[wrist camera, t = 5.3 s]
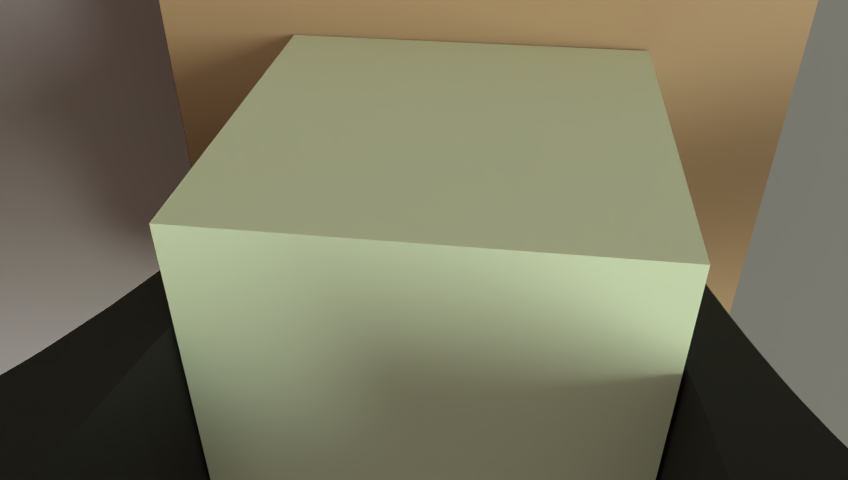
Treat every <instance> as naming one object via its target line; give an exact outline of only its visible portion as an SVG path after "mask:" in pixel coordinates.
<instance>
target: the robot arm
mask: <svg viewBox="0 0 848 480" xmlns="http://www.w3.org/2000/svg"><path fill="white" fill-rule="evenodd" d="M0 480H210V476H209V471H208V467H207V463H206V459H205V455H204V451H203V446H202V442H201V438H200V434H199V430H198V426H197V421H196V417H195V413H194V409H193V405H192V401H191V396H190V392H189V388H188V384H187V380H186V375H185V371H184V367H183V363H182V359H181V355H180V350H179V346H178V342H177V338H176V334H175V330H174V325H173V321H172V317H171V313H170V309H169V305H168V300H167V296H166V292H165V288H164V284H163V280H162V275H161V271H159V272H157V273H156V274H154V275H153V276H152V277H150V278H149V279H147V280H146V281H145V282H143V283H142V284H140V285H139V286H138V287H136V288H135V289H133V290H132V291H131V292H129V293H128V294H127V295H125V296H124V297H122V298H121V299H120V300H118V301H117V302H115V303H114V304H113V305H111V306H110V307H108V308H107V309H105V310H104V311H102V312H101V313H99V314H98V315H96V316H94V317H93V318H91V319H90V320H88V321H87V322H85V323H84V324H82V325H81V326H79V327H78V328H76V329H75V330H73V331H71V332H70V333H68V334H67V335H65V336H64V337H62V338H61V339H59V340H58V341H56V342H55V343H53V344H52V345H50V346H49V347H47V348H45V349H44V350H42V351H41V352H39V353H37V354H36V355H34V356H32V357H31V358H29V359H28V360H26V361H24V362H22V363H21V364H19V365H17V366H16V367H14V368H12V369H10V370H9V371H7V372H5V373H3V374H2V375H0ZM656 480H848V448H847V447H846V446H845V445H844V444H843V443H842V442H841V441H840V440H839V439H838V438H837V437H836V436H835V435H834V434H833V433H832V432H831V431H830V430H829V429H828V428H827V427H826V426H825V425H824V423H823V422H822V421H821V420H820V419H819V418H818V417H817V416H816V415H815V414H814V413H813V412H812V411H811V410H810V409H809V408H808V407H807V406H806V405H805V404H804V403H803V401H802V400H801V399H800V398H799V397H798V396H797V395H796V394H795V393H794V392H793V390H792V389H791V388H790V387H789V386H788V385H787V384H786V383H785V382H784V380H783V379H782V378H781V377H780V376H779V374H778V373H777V372H776V371H775V370H774V369H773V367H772V366H771V365H770V364H769V363H768V361H767V360H766V359H765V358H764V357H763V356H762V354H761V353H760V352H759V351H758V350H757V348H756V347H755V346H754V345H753V344H752V342H751V341H750V340H749V339H748V337H747V336H746V335H745V334H744V333H743V331H742V330H741V329H740V328H739V326H738V325H737V324H736V322H735V321H734V320H733V319H732V317H731V316H730V315H729V313H728V312H727V311H726V310H725V308H724V307H723V306H722V304H721V303H720V302H719V300H718V299H717V298H716V296H715V295H714V294H713V293H712V291H711V290H710V289H709V287H708V286H707V285H706V284H705V288H704V292H703V296H702V300H701V304H700V308H699V311H698V315H697V319H696V323H695V327H694V331H693V335H692V339H691V343H690V347H689V351H688V355H687V359H686V362H685V366H684V370H683V374H682V378H681V382H680V386H679V390H678V394H677V398H676V402H675V406H674V410H673V414H672V417H671V421H670V425H669V429H668V433H667V437H666V441H665V445H664V449H663V453H662V457H661V461H660V465H659V468H658V472H657V476H656Z"/></svg>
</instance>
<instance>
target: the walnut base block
mask: <svg viewBox="0 0 848 480" xmlns="http://www.w3.org/2000/svg"><path fill="white" fill-rule="evenodd" d="M818 1H819V0H159V4H160V9H161V14H162V19H163V24H164V29H165V35H166V40H167V45H168V50H169V55H170V60H171V66H172V71H173V76H174V81H175V86H176V91H177V97H178V102H179V107H180V112H181V117H182V122H183V128H184V133H185V138H186V143H187V148H188V153H189V159H190V164H191V168H192V167H193V166H194V164H195V163H196V162H197V160H198V159H199V158H200V157H201V155H202V154H203V153H204V151H205V150H206V149H207V147H208V146H209V145H210V144H211V142H212V141H213V140H214V138H215V137H216V136H217V135H218V133H219V132H220V131H221V129H222V128H223V127H224V125H225V124H226V123H227V122H228V120H229V119H230V118H231V116H232V115H233V114H234V112H235V111H236V110H237V109H238V107H239V106H240V105H241V103H242V102H243V101H244V99H245V98H246V97H247V96H248V94H249V93H250V92H251V90H252V89H253V88H254V86H255V85H256V84H257V83H258V81H259V80H260V79H261V77H262V76H263V75H264V73H265V72H266V71H267V70H268V68H269V67H270V66H271V64H272V63H273V62H274V60H275V59H276V58H277V57H278V55H279V54H280V53H281V51H282V50H283V49H284V47H285V46H286V45H287V44H288V42H289V41H290V40H291V38H292V37H293V36H294V35H310V36H332V37H354V38H376V39H398V40H420V41H442V42H464V43H486V44H508V45H530V46H552V47H574V48H596V49H618V50H640V51H649V52H650V56H651V59H652V63H653V66H654V70H655V73H656V77H657V80H658V84H659V87H660V91H661V94H662V98H663V101H664V105H665V108H666V112H667V115H668V119H669V122H670V126H671V129H672V133H673V136H674V140H675V143H676V147H677V150H678V154H679V157H680V161H681V164H682V168H683V171H684V175H685V178H686V182H687V185H688V189H689V192H690V196H691V199H692V203H693V206H694V210H695V213H696V217H697V220H698V224H699V227H700V231H701V234H702V238H703V241H704V245H705V248H706V252H707V255H708V259H709V262H710V268H709V272H708V276H707V280H706V285H707V286H708V287H709V289H710V290H711V291H712V293H713V294H714V295H715V296H716V298H717V299H718V300H719V302H720V303H721V304H722V306H723V307H724V308H725V310H726V311H727V312H728V313H729V314H730V310H731V307H732V303H733V300H734V296H735V293H736V289H737V286H738V282H739V278H740V275H741V271H742V268H743V264H744V261H745V257H746V254H747V250H748V247H749V243H750V240H751V236H752V233H753V229H754V226H755V222H756V219H757V215H758V212H759V208H760V205H761V201H762V198H763V194H764V191H765V187H766V184H767V180H768V177H769V173H770V169H771V166H772V162H773V159H774V155H775V152H776V148H777V145H778V141H779V138H780V134H781V131H782V127H783V124H784V120H785V117H786V113H787V110H788V106H789V103H790V99H791V96H792V92H793V89H794V85H795V82H796V78H797V75H798V71H799V67H800V64H801V60H802V57H803V53H804V50H805V46H806V43H807V39H808V36H809V32H810V29H811V25H812V22H813V18H814V15H815V11H816V8H817V4H818Z"/></svg>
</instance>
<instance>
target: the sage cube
mask: <svg viewBox="0 0 848 480" xmlns="http://www.w3.org/2000/svg"><path fill="white" fill-rule="evenodd" d="M149 225H150V229H151V234H152V238H153V242H154V246H155V250H156V255H157V259H158V263H159V267H160V271H161V275H162V280H163V284H164V288H165V292H166V296H167V300H168V305H169V309H170V313H171V317H172V321H173V325H174V330H175V334H176V338H177V342H178V346H179V350H180V355H181V359H182V363H183V367H184V371H185V375H186V380H187V384H188V388H189V392H190V396H191V401H192V405H193V409H194V413H195V417H196V421H197V426H198V430H199V434H200V438H201V442H202V446H203V451H204V455H205V459H206V463H207V467H208V471H209V476H210V480H656V476H657V472H658V468H659V465H660V461H661V457H662V453H663V449H664V445H665V441H666V437H667V433H668V429H669V425H670V421H671V417H672V414H673V410H674V406H675V402H676V398H677V394H678V390H679V386H680V382H681V378H682V374H683V370H684V366H685V362H686V359H687V355H688V351H689V347H690V343H691V339H692V335H693V331H694V327H695V323H696V319H697V315H698V311H699V308H700V304H701V300H702V296H703V292H704V288H705V284H706V280H707V276H708V272H709V268H710V262H709V259H708V255H707V252H706V248H705V245H704V241H703V238H702V234H701V231H700V227H699V224H698V220H697V217H696V213H695V210H694V206H693V203H692V199H691V196H690V192H689V189H688V185H687V182H686V178H685V175H684V171H683V168H682V164H681V161H680V157H679V154H678V150H677V147H676V143H675V140H674V136H673V133H672V129H671V126H670V122H669V119H668V115H667V112H666V108H665V105H664V101H663V98H662V94H661V91H660V87H659V84H658V80H657V77H656V73H655V70H654V66H653V63H652V59H651V56H650V52H649V51H640V50H618V49H596V48H574V47H552V46H530V45H508V44H486V43H464V42H442V41H420V40H398V39H376V38H354V37H332V36H310V35H294V36H293V37H292V38H291V40H290V41H289V42H288V44H287V45H286V46H285V47H284V49H283V50H282V51H281V53H280V54H279V55H278V57H277V58H276V59H275V60H274V62H273V63H272V64H271V66H270V67H269V68H268V70H267V71H266V72H265V73H264V75H263V76H262V77H261V79H260V80H259V81H258V83H257V84H256V85H255V86H254V88H253V89H252V90H251V92H250V93H249V94H248V96H247V97H246V98H245V99H244V101H243V102H242V103H241V105H240V106H239V107H238V109H237V110H236V111H235V112H234V114H233V115H232V116H231V118H230V119H229V120H228V122H227V123H226V124H225V125H224V127H223V128H222V129H221V131H220V132H219V133H218V135H217V136H216V137H215V138H214V140H213V141H212V142H211V144H210V145H209V146H208V147H207V149H206V150H205V151H204V153H203V154H202V155H201V157H200V158H199V159H198V160H197V162H196V163H195V164H194V166H193V167H192V168H191V170H190V171H189V172H188V173H187V175H186V176H185V177H184V179H183V180H182V181H181V183H180V184H179V185H178V186H177V188H176V189H175V190H174V192H173V193H172V194H171V196H170V197H169V198H168V199H167V201H166V202H165V203H164V205H163V206H162V207H161V209H160V210H159V211H158V212H157V214H156V215H155V216H154V218H153V219H152V220H151V222H150V223H149Z"/></svg>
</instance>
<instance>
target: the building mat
mask: <svg viewBox="0 0 848 480" xmlns="http://www.w3.org/2000/svg"><path fill="white" fill-rule="evenodd" d="M729 315H730V316H731V317H732V319H733V320H734V321H735V322H736V324H737V325H738V326H739V328H740V329H741V330H742V331H743V333H744V334H745V335H746V336H747V337H748V339H749V340H750V341H751V342H752V344H753V345H754V346H755V347H756V348H757V350H758V351H759V352H760V353H761V354H762V356H763V357H764V358H765V359H766V360H767V361H768V363H769V364H770V365H771V366H772V367H773V369H774V370H775V371H776V372H777V373H778V374H779V376H780V377H781V378H782V379H783V380H784V382H785V383H786V384H787V385H788V386H789V387H790V388H791V389H792V390H793V392H794V393H795V394H796V395H797V396H798V397H799V398H800V399H801V400H802V401H803V403H804V404H805V405H806V406H807V407H808V408H809V409H810V410H811V411H812V412H813V413H814V414H815V415H816V416H817V417H818V418H819V419H820V420H821V421H822V422H823V423H824V425H825V426H826V427H827V428H828V429H829V430H830V431H831V432H832V433H833V434H834V435H835V436H836V437H837V438H838V439H839V440H840V441H841V442H842V443H843V444H844V445H845V446H846V447H847V448H848V0H819V1H818V4H817V8H816V11H815V15H814V18H813V22H812V25H811V29H810V32H809V36H808V39H807V43H806V46H805V50H804V53H803V57H802V60H801V64H800V67H799V71H798V75H797V78H796V82H795V85H794V89H793V92H792V96H791V99H790V103H789V106H788V110H787V113H786V117H785V120H784V124H783V127H782V131H781V134H780V138H779V141H778V145H777V148H776V152H775V155H774V159H773V162H772V166H771V169H770V173H769V177H768V180H767V184H766V187H765V191H764V194H763V198H762V201H761V205H760V208H759V212H758V215H757V219H756V222H755V226H754V229H753V233H752V236H751V240H750V243H749V247H748V250H747V254H746V257H745V261H744V264H743V268H742V271H741V275H740V278H739V282H738V286H737V289H736V293H735V296H734V300H733V303H732V307H731V310H730V314H729Z"/></svg>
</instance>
